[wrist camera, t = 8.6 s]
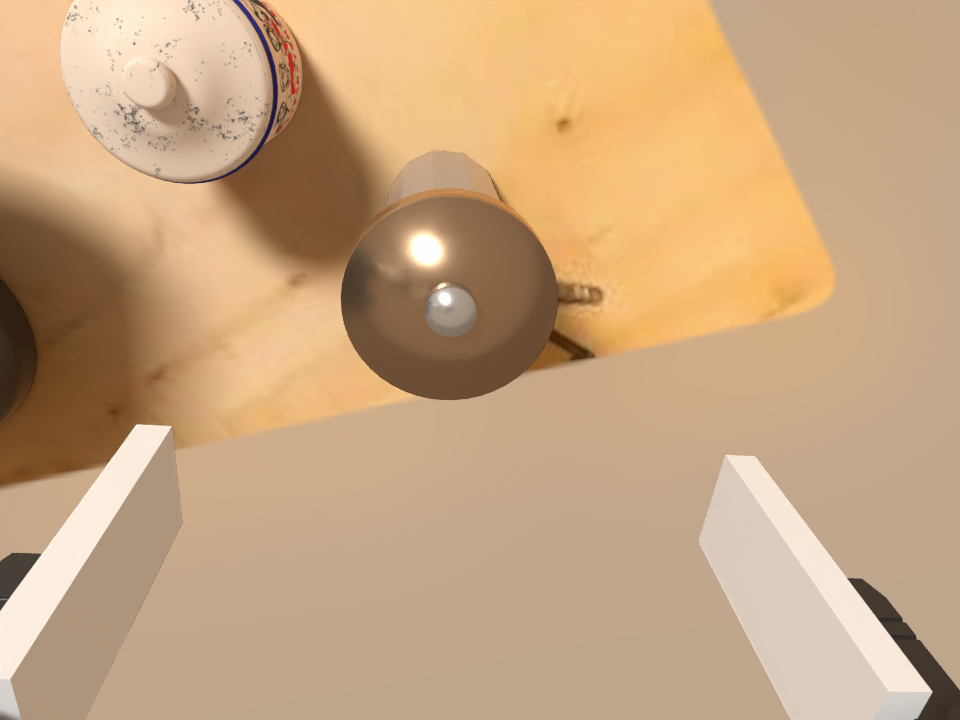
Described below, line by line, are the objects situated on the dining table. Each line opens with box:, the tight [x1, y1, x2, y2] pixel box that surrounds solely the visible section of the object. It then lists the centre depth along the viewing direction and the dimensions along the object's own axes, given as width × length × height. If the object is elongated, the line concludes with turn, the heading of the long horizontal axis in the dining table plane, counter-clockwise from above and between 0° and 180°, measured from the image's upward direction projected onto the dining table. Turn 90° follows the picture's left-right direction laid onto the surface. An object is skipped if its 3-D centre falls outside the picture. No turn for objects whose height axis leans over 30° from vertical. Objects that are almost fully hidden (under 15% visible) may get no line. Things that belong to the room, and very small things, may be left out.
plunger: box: [341, 188, 558, 400], centre depth 33 cm, size 9×9×14 cm
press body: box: [385, 150, 500, 209], centre depth 36 cm, size 7×9×14 cm
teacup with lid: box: [60, 0, 303, 184], centre depth 32 cm, size 12×9×12 cm
